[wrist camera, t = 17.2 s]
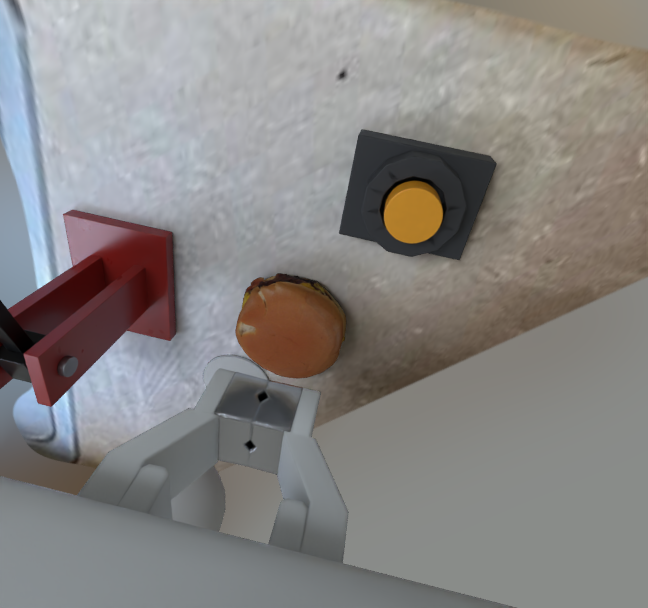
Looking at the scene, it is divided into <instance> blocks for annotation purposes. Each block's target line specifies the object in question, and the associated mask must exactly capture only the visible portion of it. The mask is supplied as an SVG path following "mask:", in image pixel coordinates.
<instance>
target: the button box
mask: <svg viewBox="0 0 648 608" xmlns="http://www.w3.org/2000/svg"><path fill="white" fill-rule="evenodd" d="M495 167H496V162H495V161H494V160H493V159H492V158H491V156H488V155H483V154H478V153H473V152H468V151H464V150H459V149H454V148H449V147H444V146H440V145H435V144H430V143H425V142H420V141H416V140H411V139H406V138H401V137H396V136H392V135H387V134H382V133H377V132H373V131H368V130H363V129H362V130H361V132H360V134H359V136H358V141H357V146H356V151H355V156H354V161H353V166H352V171H351V176H350V181H349V186H348V191H347V196H346V201H345V206H344V211H343V216H342V221H341V226H340V231H339V234H343V235H348V236H352V237H357V238H361V239H366V240H370V241H375V242H377V243H378V244H379V245H381V246H382V247H383V248H384V249H385V250H386V251H388V252H392V253H397V254H401V255H406V256H410V257H413V256H417V255H421V254H425V253H429V254H434V255H438V256H443V257H447V258H452V259H456V260H460V258H461V255H462V252H463V250H464V247H465V245H466V242H467V239H468V237H469V234H470V232H471V229H472V226H473V224H474V221H475V219H476V216H477V213H478V211H479V208H480V206H481V203H482V200H483V198H484V195H485V193H486V190H487V187H488V185H489V182H490V180H491V177H492V174H493V172H494V169H495ZM408 181H421V182H424V183H427V184H429V185H430V186H432V187H433V188H434V189H435V190H436V192H437V193H438V195H439V197H440V201H441V205H442V209H443V220H442V223H441V225H440V227H439V229H438V231H437V232H436V233H435V234H434V235H433V236H432V237H431V238H429V239H427V240H425V241H423V242H420V243H404V242H401V241H399V240H397V239H395V238H394V237H393V236H392V235H391V234H390V233H389V232H388V230H387V228H386V226H385V222H384V210H385V203H386V200H387V198H388V196H389V194H390V193H391V191H392V190H393V189H394V188H395V187H397V186H398V185H400V184H402V183H404V182H408Z"/></svg>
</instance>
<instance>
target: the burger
mask: <svg viewBox="0 0 648 608" xmlns="http://www.w3.org/2000/svg"><path fill="white" fill-rule="evenodd" d="M235 331H236V336H237V339H238V342H239V344H240V346H241V347H242V349H243V350H244V352H245V353H246V354H247V355H248V356H249V357H250V358H251V359H252V360H253V361H254V362H256V363H257V364H258V365H260V366H261V367H262V368H264V369H266V370H268V371H271V372H273V373H275V374H277V375H280V376H284V377H289V378H307V377H310V376H313V375H317V374H320V373H322V372H324V371H325V370H326V369H328V368H329V367H330V366H332V365H333V364H334V363H335V361H336V360H337V358H338V356H339V350H340V349H341V344H342V342H343V341H344V340H345V331H346V316H345V314H344V312H343V310H342V309H341V307H340V306H339V304H338V303H337V301H336V300H335V299H334V298H333V297H332V296H331V294H330V293H329V292H328V291H327V290H325V289H324V288H323V287H322V286H321V285H320V284H318V283H317V282H316V281H314V280H309V279H306V278H299V277H298V276H289V275H287V274H281V273H278V274H277V275H276V276H272V277H270V278H267V279H265V280H264V278H261V277H260V278H257V279H255V280H254V281H252V283H251V286H249V287H248V288H247V289H246V292H245V295H244V298H243V304H242V310H241V312H240V314H239V317H238V321H237V326H236V330H235Z"/></svg>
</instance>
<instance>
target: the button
mask: <svg viewBox="0 0 648 608" xmlns="http://www.w3.org/2000/svg"><path fill="white" fill-rule="evenodd" d="M442 220H443V209H442V205H441V201H440V197H439V195H438V193H437V192H436V190H435V189H434V188H433V187H432V186H430V185H429V184H427V183H424V182H421V181H408V182H404V183H402V184H400V185H398V186H397V187H395V188H394V189H393V190H392V191H391V193H390V194H389V196H388V198H387V200H386V203H385V210H384V222H385V226H386V228H387V230H388V232H389V233H390V234H391V235H392V236H393V237H394V238H395V239H397V240H399V241H401V242H404V243H420V242H423V241H425V240H427V239H429V238H431V237H432V236H433V235H434V234H435V233H436V232H437V231H438V229H439V227H440V225H441V223H442Z"/></svg>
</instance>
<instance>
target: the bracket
mask: <svg viewBox="0 0 648 608" xmlns="http://www.w3.org/2000/svg"><path fill="white" fill-rule="evenodd" d="M63 216H64V222H65V227H66V232H67V238H68V243H69V249H70V254H71V260H72V265H73V267H72V268H70V269H68V270H67V271H65V272H64V273H62V274H61V275H59V276H58V277H56V278H55V279H53V280H52V281H50V282H49V283H47V284H46V285H44V286H43V287H41V288H40V289H38V290H36V291H35V292H33V293H32V294H30V295H29V296H27V297H26V298H24V299H23V300H21V301H20V302H18V303H17V304H15V305H14V306H12V307H11V308H9V309H8V311H9V312H10V313H11V315H12V316H13V317H14V318H15V320H16V321H17V322H18V323H19V325H20V326H21V327H22V329H23V330H27V331H32V332H36V333H40V334H44V335H46V336H45V337H44V338H42V339H41V340H40V341H39V342H37V343H36V344H35V345H34V346H32V347H31V348H30V349H29V350H27V351H26V352H25V353H24V358H25V361H26V365H27V368H28V371H29V375H30V378H31V382H32V385H33V388H34V392H35V395H36V398H37V402H38V404H42V405H46V406H50V407H52V406H53V405H54V404H55V403H56V402H57V401H58V400H59V399H60V398H61V397H62V396H63V395H64V394H65V393H66V392H67V391H68V390H69V389H70V388H71V387H72V386H73V384H74V383H75V382H76V381H77V380H78V379H79V378H80V377H81V376H82V375H83V374H84V373H85V372H86V371H87V370H88V369H89V368H90V367H91V366H92V365H93V364H94V363H95V362H96V361H97V360H98V359H99V358H100V357H101V356H102V355H103V354H104V353H105V352H106V351H107V350H108V349H109V348H110V347H111V346H112V345H113V344H114V343H115V342H116V341H117V340H118V339H119V338H120V337H121V336H122V335H123V334H124V333H125V332H126V331H131V332H135V333H139V334H143V335H147V336H151V337H156V338H160V339H164V340H168V341H171V340H172V338H173V337H174V336H175V335H176V323H175V295H174V266H173V238H172V232H169V231H165V230H160V229H156V228H151V227H147V226H143V225H138V224H134V223H129V222H125V221H120V220H116V219H112V218H107V217H103V216H98V215H94V214H89V213H85V212H81V211H76V210H71V211H69V212H67V213H65V214H63ZM2 345H3V344H2V343H1V342H0V347H1V346H2ZM12 379H13V378H12V377H11V376H10V375H9V374H8V373H7V372H6V371H5V370H4V369H3V368H2V367H1V366H0V389H1V388H2V387H3V386H4V385H6V384H7V383H8V382H9V381H10V380H12Z"/></svg>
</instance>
